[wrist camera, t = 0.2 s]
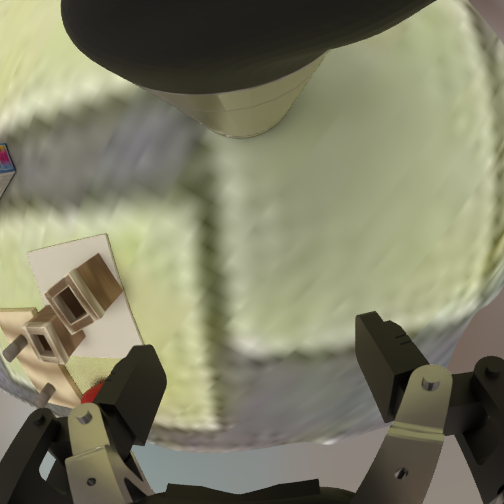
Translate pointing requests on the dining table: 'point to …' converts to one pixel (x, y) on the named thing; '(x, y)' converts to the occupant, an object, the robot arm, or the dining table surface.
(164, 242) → the dining table surface
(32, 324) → the sleeve
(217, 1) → the robot arm
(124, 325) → the mat
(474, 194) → the dining table surface
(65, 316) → the sleeve
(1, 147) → the ink cartridge box
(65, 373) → the pin board
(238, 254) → the dining table surface
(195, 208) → the dining table surface
